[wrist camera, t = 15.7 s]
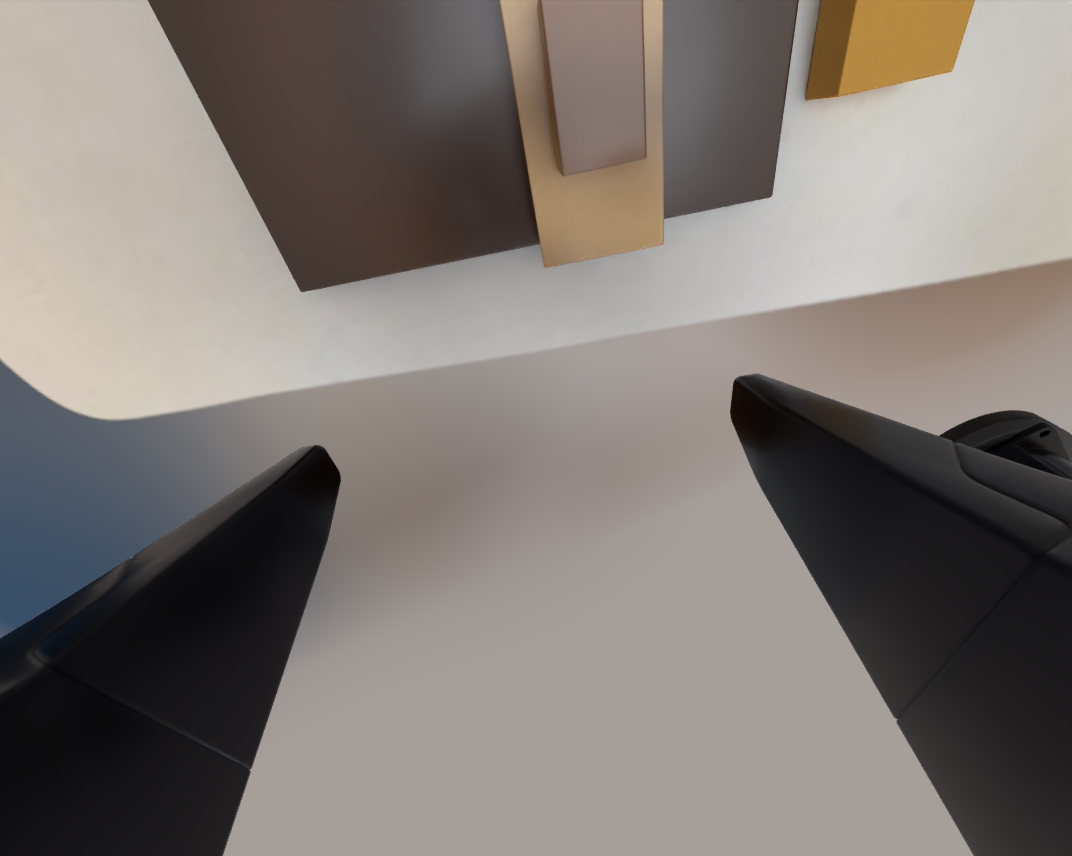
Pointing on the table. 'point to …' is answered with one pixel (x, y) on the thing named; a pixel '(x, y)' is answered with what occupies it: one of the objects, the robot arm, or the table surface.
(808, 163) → the table surface
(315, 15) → the board
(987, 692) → the robot arm
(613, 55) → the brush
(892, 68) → the mustard orange square block
